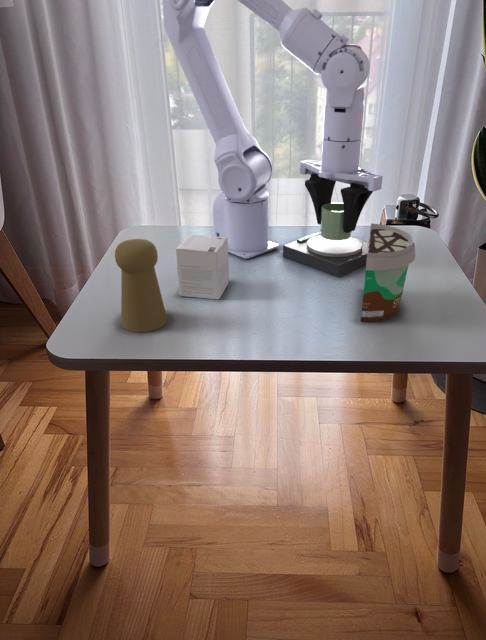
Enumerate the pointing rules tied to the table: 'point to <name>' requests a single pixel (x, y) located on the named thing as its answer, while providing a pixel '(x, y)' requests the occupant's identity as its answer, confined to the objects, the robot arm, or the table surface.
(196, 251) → the product carton
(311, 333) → the table surface
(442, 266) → the table surface
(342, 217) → the green cup
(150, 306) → the olive yellow pawn
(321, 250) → the kitchen scale
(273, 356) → the table surface
